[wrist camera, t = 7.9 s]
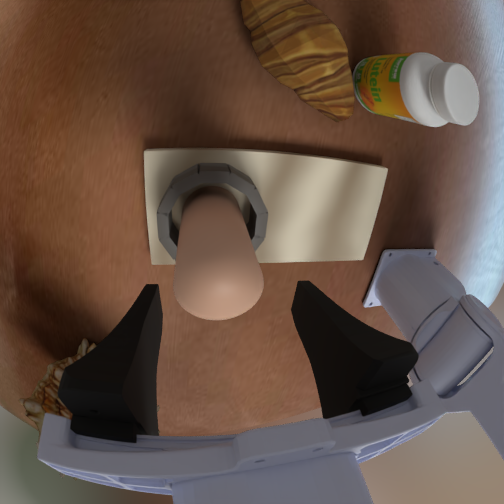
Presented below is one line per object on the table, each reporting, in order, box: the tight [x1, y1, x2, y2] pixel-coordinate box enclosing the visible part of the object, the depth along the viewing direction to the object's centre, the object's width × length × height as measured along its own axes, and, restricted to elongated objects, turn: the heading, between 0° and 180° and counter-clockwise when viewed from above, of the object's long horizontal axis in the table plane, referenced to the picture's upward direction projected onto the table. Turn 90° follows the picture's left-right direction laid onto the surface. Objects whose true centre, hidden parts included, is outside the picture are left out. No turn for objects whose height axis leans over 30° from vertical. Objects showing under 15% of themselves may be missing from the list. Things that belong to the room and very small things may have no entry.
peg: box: [173, 186, 264, 320], centre depth 17 cm, size 4×4×9 cm
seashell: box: [18, 339, 160, 480], centre depth 23 cm, size 18×18×15 cm
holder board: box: [144, 148, 388, 265], centre depth 21 cm, size 20×10×4 cm, turn 85°
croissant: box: [240, 0, 355, 122], centre depth 14 cm, size 14×7×5 cm, turn 35°
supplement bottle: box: [352, 52, 479, 127], centre depth 14 cm, size 5×5×10 cm
